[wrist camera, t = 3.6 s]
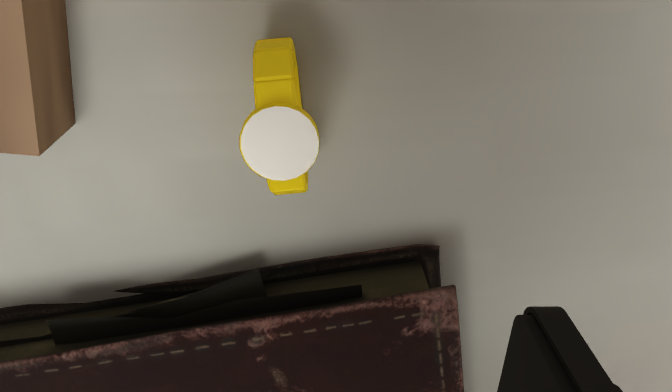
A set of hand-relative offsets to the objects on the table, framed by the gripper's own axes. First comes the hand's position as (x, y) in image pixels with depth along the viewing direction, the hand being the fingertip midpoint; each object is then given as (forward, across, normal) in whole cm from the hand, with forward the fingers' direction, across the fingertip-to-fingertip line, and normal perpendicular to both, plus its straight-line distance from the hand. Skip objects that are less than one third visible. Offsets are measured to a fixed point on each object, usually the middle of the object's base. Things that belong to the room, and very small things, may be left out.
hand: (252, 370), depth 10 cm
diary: (+17, +3, +18) cm, 25 cm away
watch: (+17, 0, 0) cm, 17 cm away
